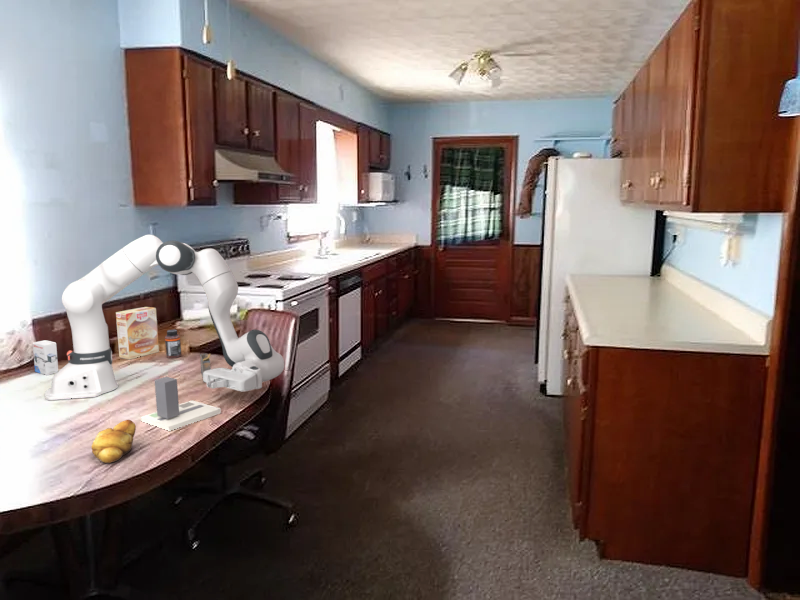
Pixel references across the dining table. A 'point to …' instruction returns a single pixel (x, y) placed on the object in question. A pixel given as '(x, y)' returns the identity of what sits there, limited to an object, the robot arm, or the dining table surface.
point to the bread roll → (114, 441)
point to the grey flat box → (205, 362)
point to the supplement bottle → (172, 344)
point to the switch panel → (182, 415)
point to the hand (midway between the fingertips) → (209, 385)
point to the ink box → (45, 357)
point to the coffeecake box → (137, 332)
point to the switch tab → (167, 397)
